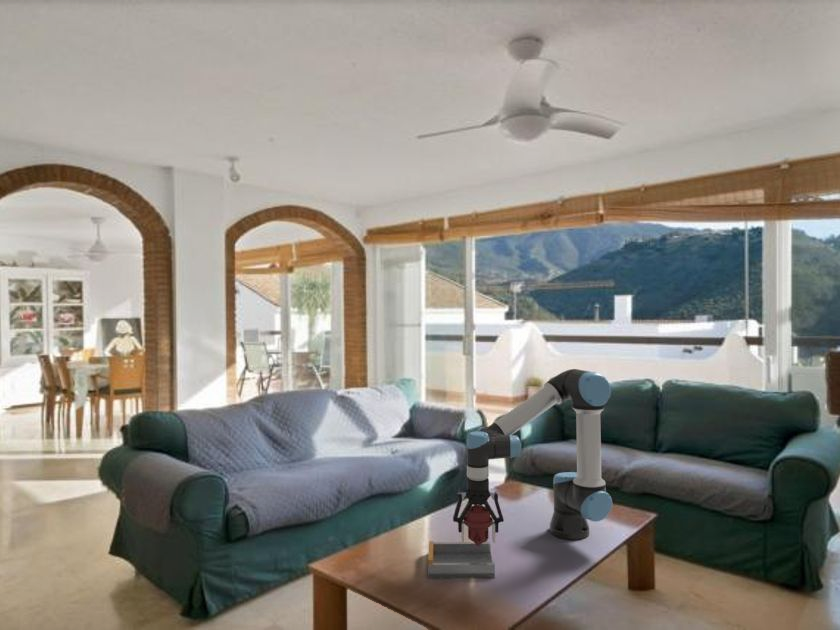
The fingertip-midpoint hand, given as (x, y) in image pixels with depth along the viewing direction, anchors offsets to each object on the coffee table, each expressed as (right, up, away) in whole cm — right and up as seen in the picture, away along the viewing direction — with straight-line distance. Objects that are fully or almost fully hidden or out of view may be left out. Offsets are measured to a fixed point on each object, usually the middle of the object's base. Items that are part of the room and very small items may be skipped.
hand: (478, 541), depth 197 cm
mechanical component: (0, 0, 0) cm, 0 cm away
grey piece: (-6, -8, +1) cm, 10 cm away
